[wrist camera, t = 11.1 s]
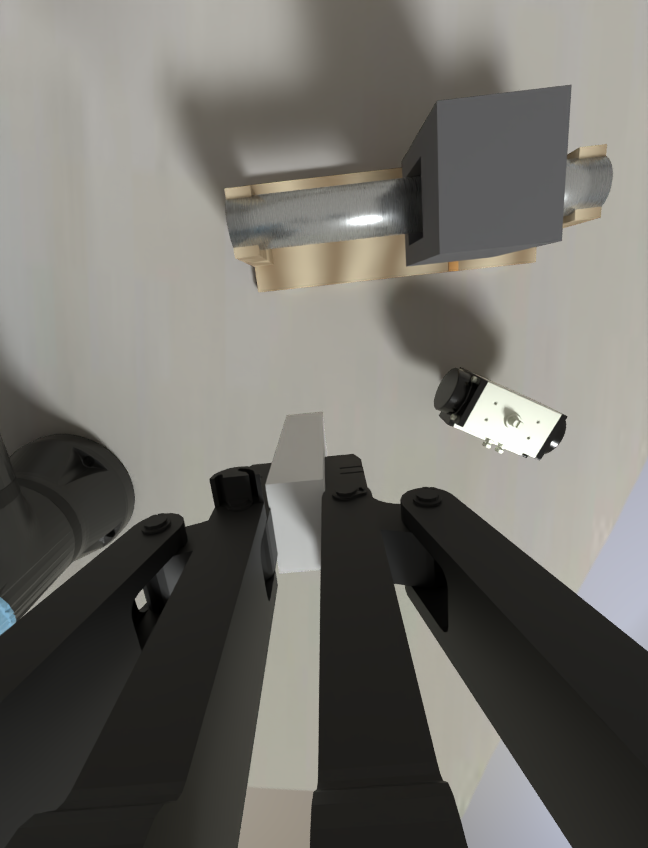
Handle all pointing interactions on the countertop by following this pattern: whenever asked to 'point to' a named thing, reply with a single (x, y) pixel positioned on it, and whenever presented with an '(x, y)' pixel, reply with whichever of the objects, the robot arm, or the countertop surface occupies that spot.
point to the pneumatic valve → (498, 414)
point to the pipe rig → (364, 242)
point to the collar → (490, 175)
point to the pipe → (372, 208)
